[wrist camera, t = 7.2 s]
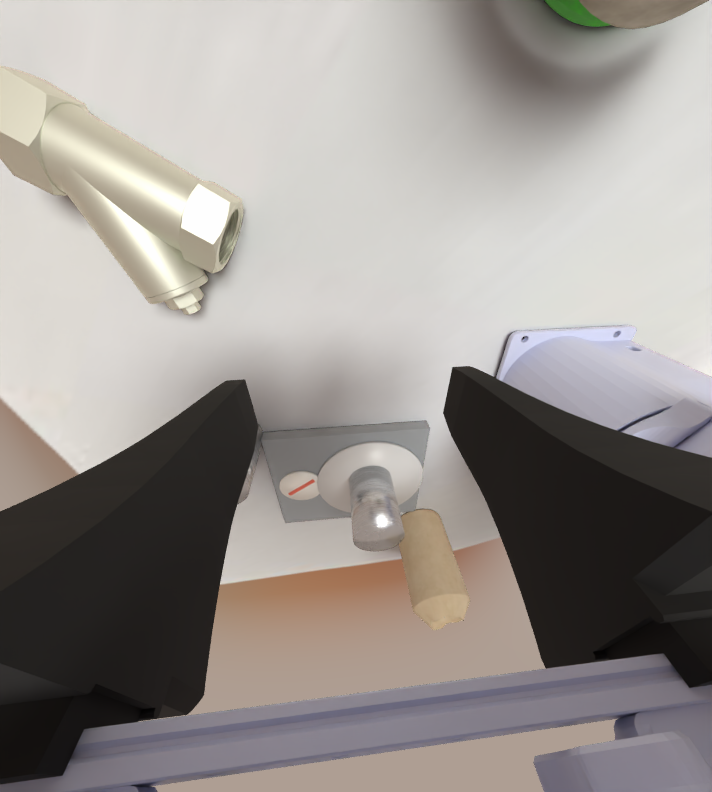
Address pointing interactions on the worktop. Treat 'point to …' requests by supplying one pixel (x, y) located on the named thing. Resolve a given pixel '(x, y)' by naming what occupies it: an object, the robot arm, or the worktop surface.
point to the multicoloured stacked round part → (622, 11)
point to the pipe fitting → (120, 190)
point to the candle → (432, 570)
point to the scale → (342, 465)
